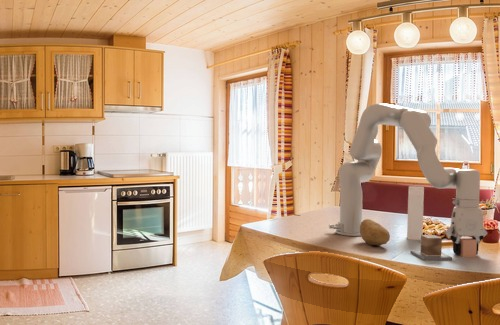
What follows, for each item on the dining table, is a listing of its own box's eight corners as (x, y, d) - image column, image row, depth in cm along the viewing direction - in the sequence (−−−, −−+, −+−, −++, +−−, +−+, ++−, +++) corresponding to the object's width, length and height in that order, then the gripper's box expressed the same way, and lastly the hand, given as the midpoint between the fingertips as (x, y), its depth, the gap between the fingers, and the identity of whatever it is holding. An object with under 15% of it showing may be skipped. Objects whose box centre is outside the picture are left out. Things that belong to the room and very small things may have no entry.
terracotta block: (462, 256, 154) (463, 240, 154) (454, 253, 159) (455, 237, 159) (476, 256, 155) (476, 240, 155) (467, 253, 160) (468, 236, 159)
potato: (371, 250, 162) (372, 225, 162) (354, 241, 177) (355, 218, 177) (393, 249, 164) (394, 224, 163) (374, 240, 179) (375, 217, 179)
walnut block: (427, 255, 151) (427, 238, 151) (420, 251, 156) (421, 235, 156) (441, 255, 152) (441, 238, 151) (433, 251, 156) (434, 235, 156)
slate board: (423, 260, 148) (424, 257, 148) (410, 253, 158) (410, 250, 158) (452, 260, 149) (452, 257, 149) (437, 252, 159) (437, 249, 159)
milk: (407, 236, 187) (408, 185, 186) (422, 238, 185) (423, 186, 184) (406, 239, 182) (408, 186, 181) (422, 240, 179) (424, 187, 179)
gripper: (449, 205, 152) (448, 256, 153) (496, 205, 153) (494, 256, 154) (438, 202, 159) (437, 251, 160) (483, 202, 161) (481, 251, 161)
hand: (465, 253), depth 157 cm, fingers open, 5 cm apart
